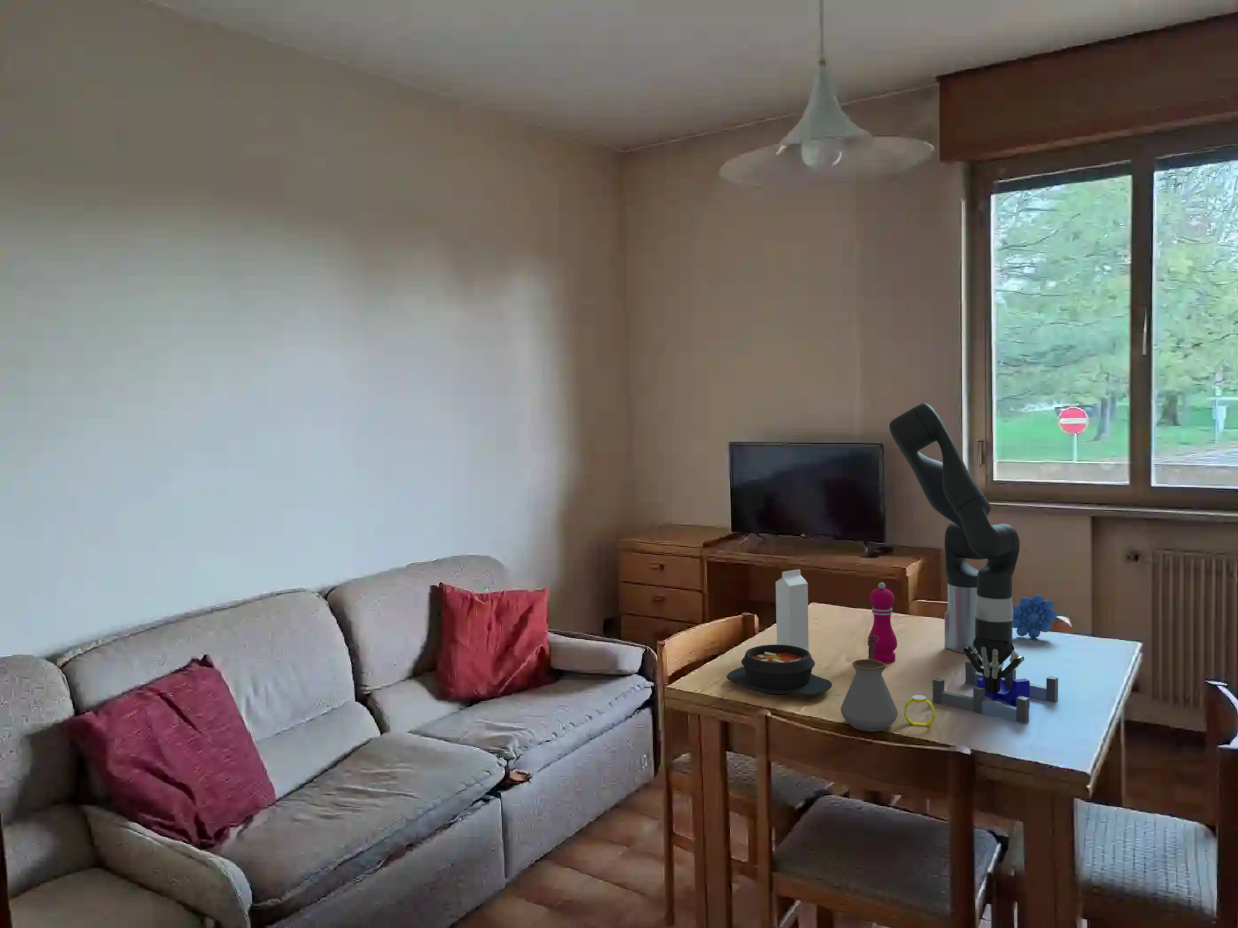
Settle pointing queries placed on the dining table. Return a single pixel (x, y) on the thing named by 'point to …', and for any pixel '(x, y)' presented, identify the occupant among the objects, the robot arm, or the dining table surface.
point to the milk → (792, 610)
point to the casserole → (779, 671)
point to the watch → (920, 700)
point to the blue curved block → (1009, 691)
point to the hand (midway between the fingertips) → (992, 693)
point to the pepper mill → (883, 624)
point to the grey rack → (989, 707)
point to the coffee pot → (869, 696)
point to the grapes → (1033, 616)
